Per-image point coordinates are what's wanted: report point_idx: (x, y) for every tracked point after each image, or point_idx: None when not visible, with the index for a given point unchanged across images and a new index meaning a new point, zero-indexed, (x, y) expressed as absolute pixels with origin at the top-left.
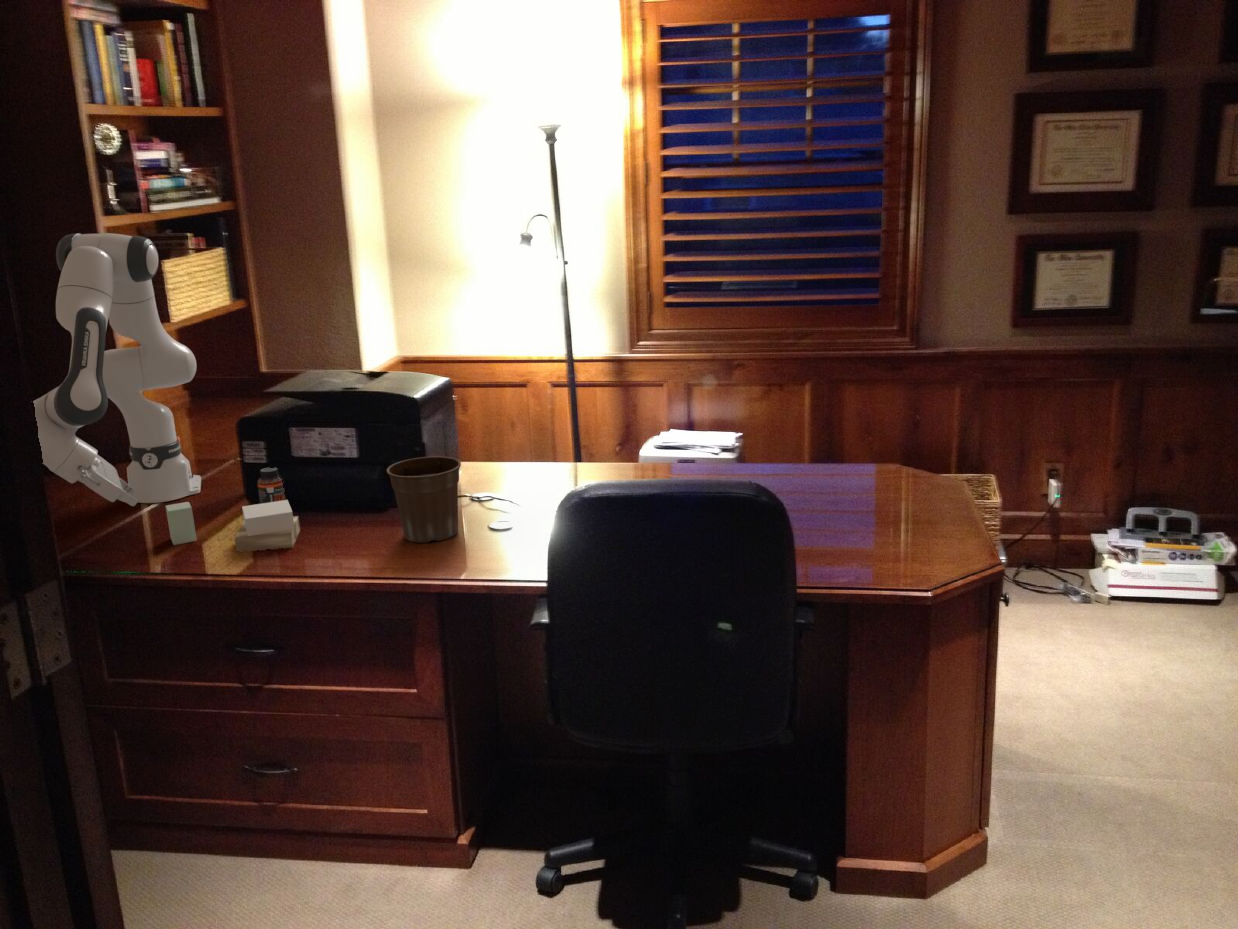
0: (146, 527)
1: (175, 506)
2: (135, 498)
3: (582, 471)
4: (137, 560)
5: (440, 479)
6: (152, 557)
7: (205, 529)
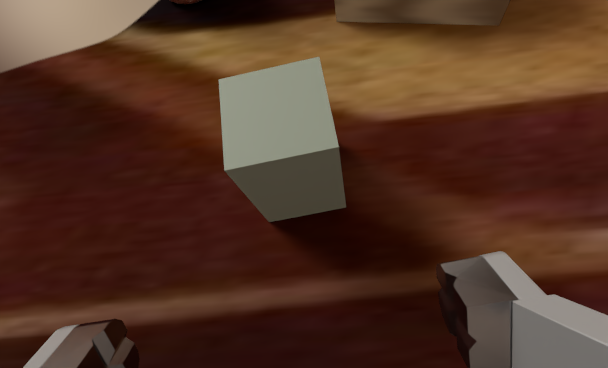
0: (85, 320)
1: (266, 123)
2: (515, 264)
3: None
4: None
5: None
6: None
7: None
